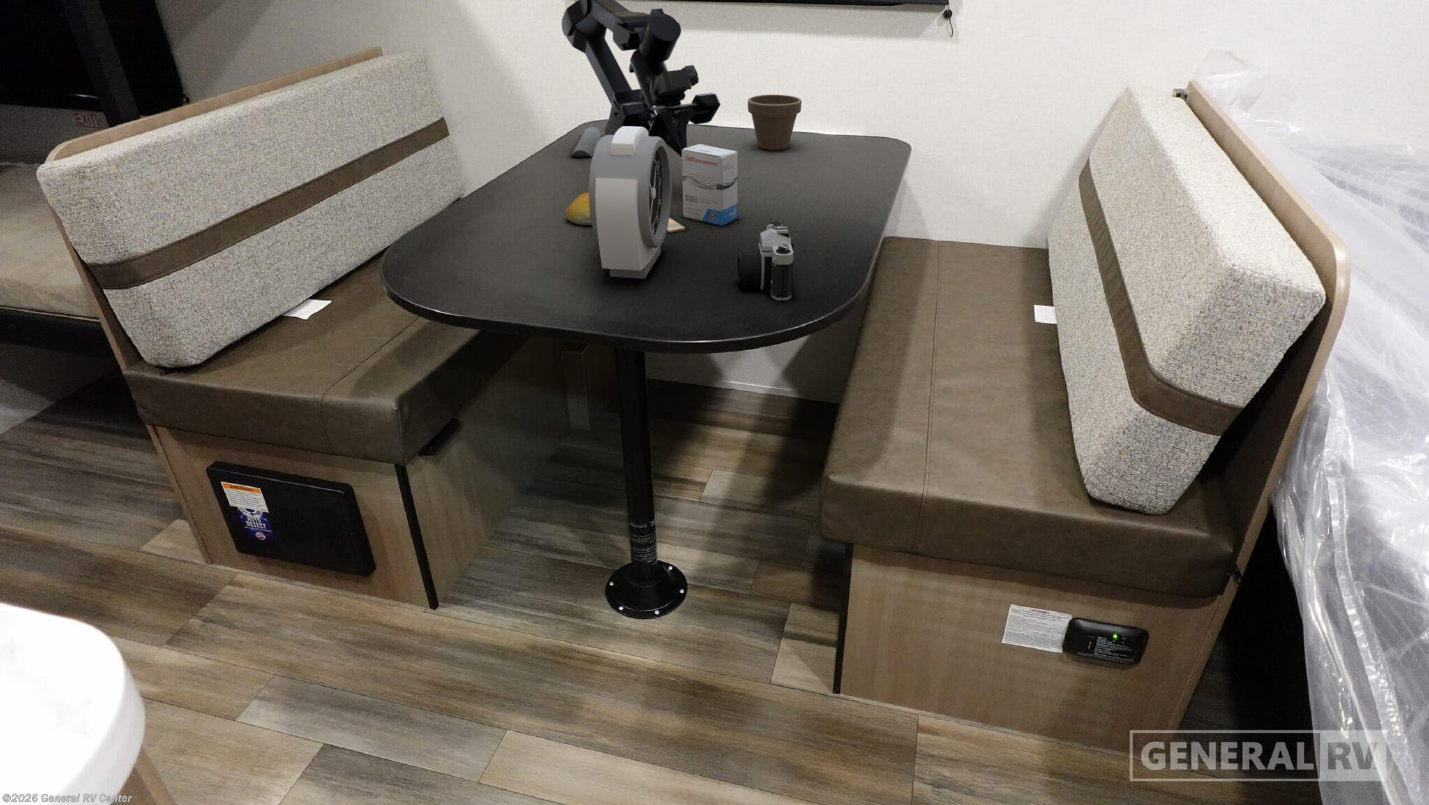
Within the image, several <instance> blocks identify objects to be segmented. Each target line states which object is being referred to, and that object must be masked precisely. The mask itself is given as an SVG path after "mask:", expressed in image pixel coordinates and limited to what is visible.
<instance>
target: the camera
mask: <svg viewBox="0 0 1429 805" xmlns="http://www.w3.org/2000/svg"><path fill="white" fill-rule="evenodd" d="M790 233H791V231H790V229H789V227H788V226H786V225H785V224H783V223H781V222H779V221H772V222H769V224H768V225H767V226H766V228H765V229H764V231H762V232H760V233H759V242H758V248H753V249H752V250H749V249H743V250H742V252H738V254H737V281H738V284H742V286H743V287H748V286H754V287H756V288H758V287H759V288H760V290H761V291H770V294H771V298H772V299H773V300H775V301H788V300H790V299H791V298H792V288H793V286H792V285H793V265H794V244H795V243H794V240H793V238H792V237H791V236H790Z"/></svg>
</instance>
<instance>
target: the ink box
mask: <svg viewBox="0 0 1429 805" xmlns="http://www.w3.org/2000/svg"><path fill="white" fill-rule="evenodd" d="M738 153H739V152H738V151H737V150H731V149H726V148H721V147H716V146H711V145H706V144H703V143H702V144H701V143H698V144H694V145H691V146H687V148H684V149H683V150H682V157H681V175H682V176H681V177H682V178H681V179H682V211H683V212H682V214H683V215H682V216H683V217H684V218H686V219H691V220H696V221H700V222H704V223H709V224H712V225H717V226H721V227H722V226H725V225H727V224H729V223H731V222H733V221H735V220H737V219H738V179H739V178H738Z"/></svg>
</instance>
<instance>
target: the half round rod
mask: <svg viewBox="0 0 1429 805" xmlns="http://www.w3.org/2000/svg"><path fill="white" fill-rule="evenodd" d="M601 137H602V132H601V131H600V129H599V128H597V127H595V126H589V127H587V128H585V130H584V131H583V133H582V135H581V137H580V138H579V140H578V142H577V144H576V146H575V148H574V150H573V152H572V153H571V157H576V158H577V157H579V158H580V157H581V158H583V157H585V158H586V157H593V153H594V150H595V147H596V145H597V143H598V141H599V140H600V138H601Z"/></svg>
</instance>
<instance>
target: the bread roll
mask: <svg viewBox="0 0 1429 805" xmlns="http://www.w3.org/2000/svg"><path fill="white" fill-rule="evenodd" d="M565 217H566V219H567V220H568V221H569V222H571V223H573V224H576V225H579V226H580V225H581V226H592V222H591V217H590V209H589V191H588V192H584V193H581V194H579V195H578V196H577V197H576V198H575V199H574V200H573V201H572V202H571V203H570V205H568V207H567V208H566V210H565Z"/></svg>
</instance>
